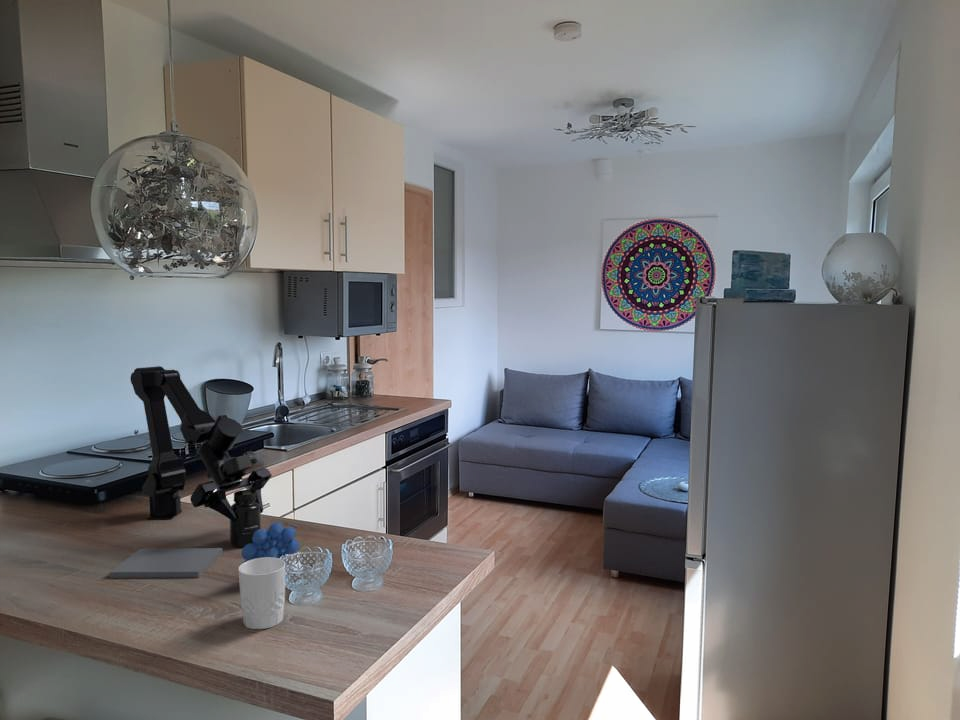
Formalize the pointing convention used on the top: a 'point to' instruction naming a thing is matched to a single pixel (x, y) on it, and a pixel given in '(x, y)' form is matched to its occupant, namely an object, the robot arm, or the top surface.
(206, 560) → the board
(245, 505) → the supplement bottle
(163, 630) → the top surface
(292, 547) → the grapes
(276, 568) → the white cup
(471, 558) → the top surface
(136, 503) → the top surface
